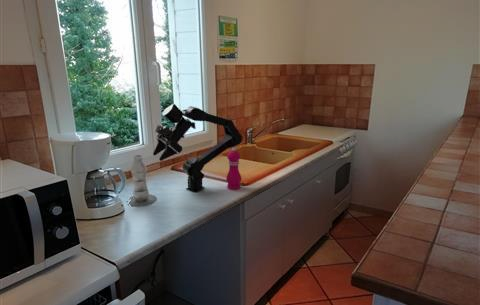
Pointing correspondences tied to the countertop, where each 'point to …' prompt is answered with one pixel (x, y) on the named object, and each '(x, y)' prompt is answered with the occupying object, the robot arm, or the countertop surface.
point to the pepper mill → (233, 170)
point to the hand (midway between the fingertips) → (156, 157)
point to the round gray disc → (149, 201)
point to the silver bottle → (139, 179)
